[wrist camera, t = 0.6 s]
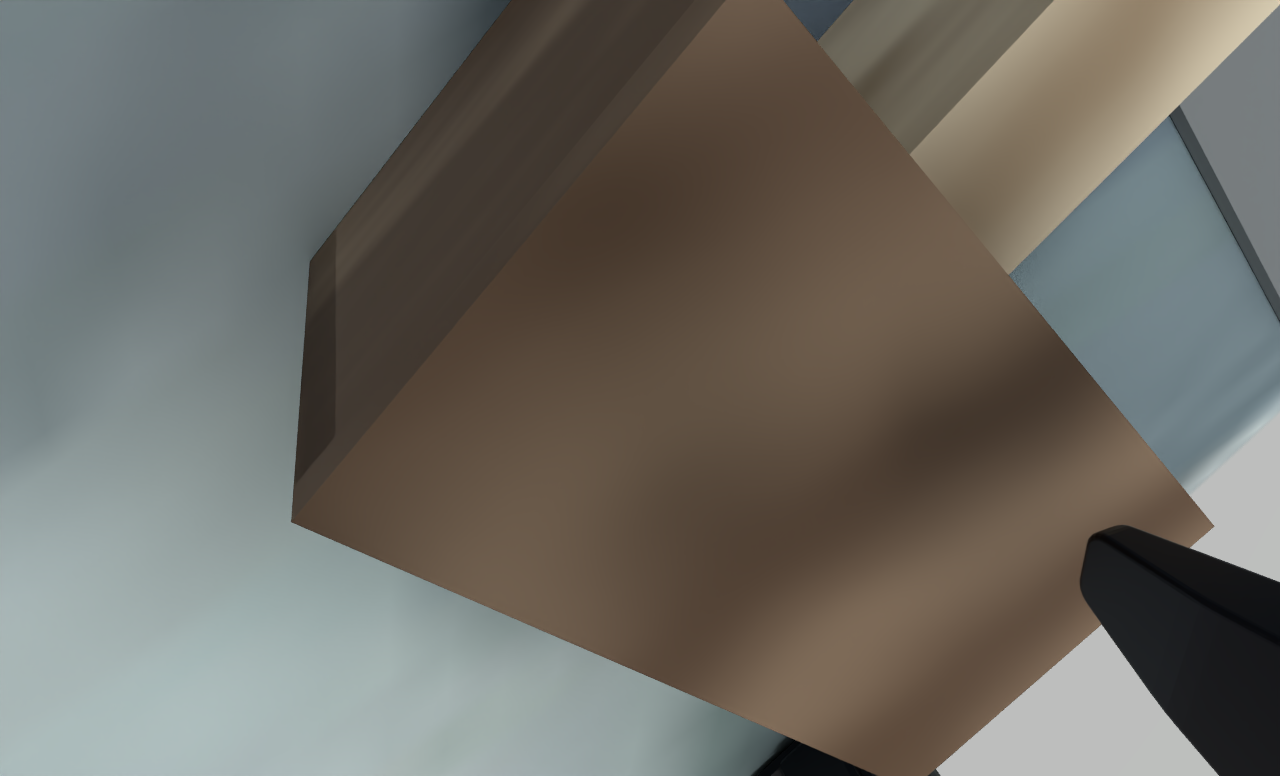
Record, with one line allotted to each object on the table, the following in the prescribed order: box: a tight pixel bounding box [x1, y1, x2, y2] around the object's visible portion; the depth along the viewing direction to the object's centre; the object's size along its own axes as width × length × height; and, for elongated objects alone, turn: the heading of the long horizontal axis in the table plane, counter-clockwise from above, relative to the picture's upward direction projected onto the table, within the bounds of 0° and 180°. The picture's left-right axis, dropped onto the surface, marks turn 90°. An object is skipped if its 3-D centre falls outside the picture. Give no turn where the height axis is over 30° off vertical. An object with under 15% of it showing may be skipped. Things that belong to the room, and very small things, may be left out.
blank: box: [817, 0, 1280, 275], centre depth 19 cm, size 4×14×6 cm, turn 136°
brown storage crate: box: [291, 0, 1214, 776], centre depth 18 cm, size 16×9×9 cm, turn 46°
